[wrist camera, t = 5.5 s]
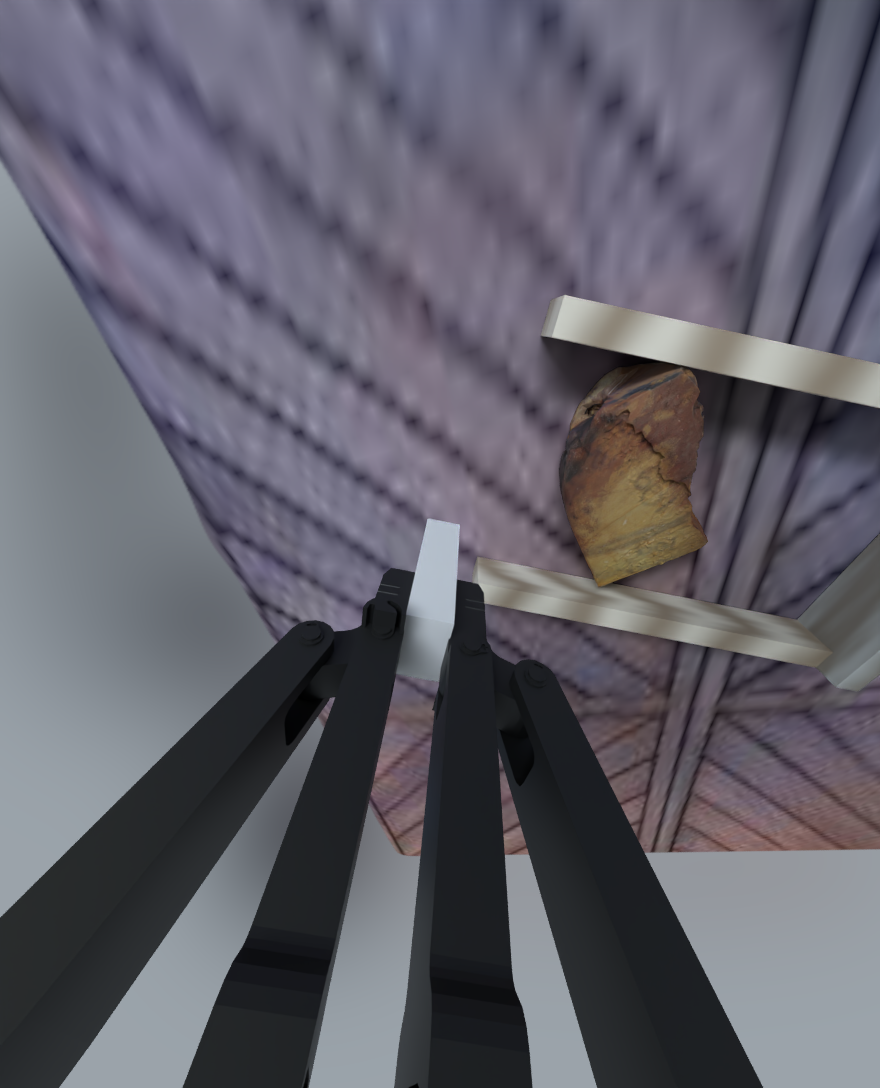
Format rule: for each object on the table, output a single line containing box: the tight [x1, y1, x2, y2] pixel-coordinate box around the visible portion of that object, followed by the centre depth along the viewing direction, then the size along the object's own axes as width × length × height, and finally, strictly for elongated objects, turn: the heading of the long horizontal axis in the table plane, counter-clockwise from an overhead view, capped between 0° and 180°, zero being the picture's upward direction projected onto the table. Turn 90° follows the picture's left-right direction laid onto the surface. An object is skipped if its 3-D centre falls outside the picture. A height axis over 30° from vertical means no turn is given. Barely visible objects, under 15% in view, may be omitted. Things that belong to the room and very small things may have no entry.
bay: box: [473, 295, 880, 691], centre depth 23 cm, size 34×26×12 cm
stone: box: [559, 362, 708, 587], centre depth 26 cm, size 15×9×5 cm, turn 22°
